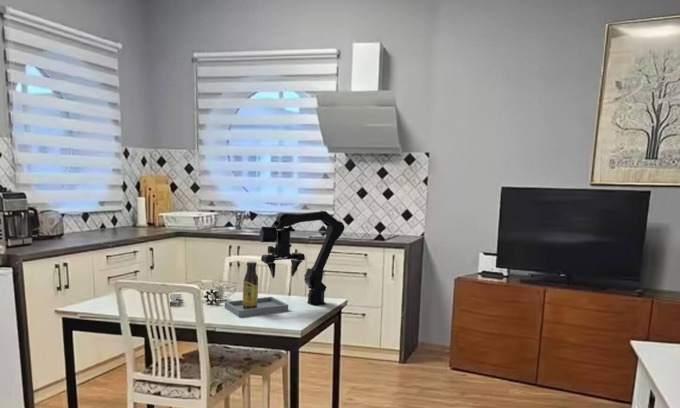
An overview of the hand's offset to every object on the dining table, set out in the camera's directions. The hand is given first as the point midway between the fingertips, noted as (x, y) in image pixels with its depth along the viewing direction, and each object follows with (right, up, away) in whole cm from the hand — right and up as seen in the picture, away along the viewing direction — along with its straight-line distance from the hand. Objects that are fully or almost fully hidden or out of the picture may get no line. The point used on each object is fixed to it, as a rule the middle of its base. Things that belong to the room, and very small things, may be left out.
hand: (283, 277), depth 220 cm
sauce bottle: (-13, -12, -6) cm, 19 cm away
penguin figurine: (-49, -12, +5) cm, 51 cm away
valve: (-31, -12, +8) cm, 35 cm away
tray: (-11, -13, -5) cm, 18 cm away
